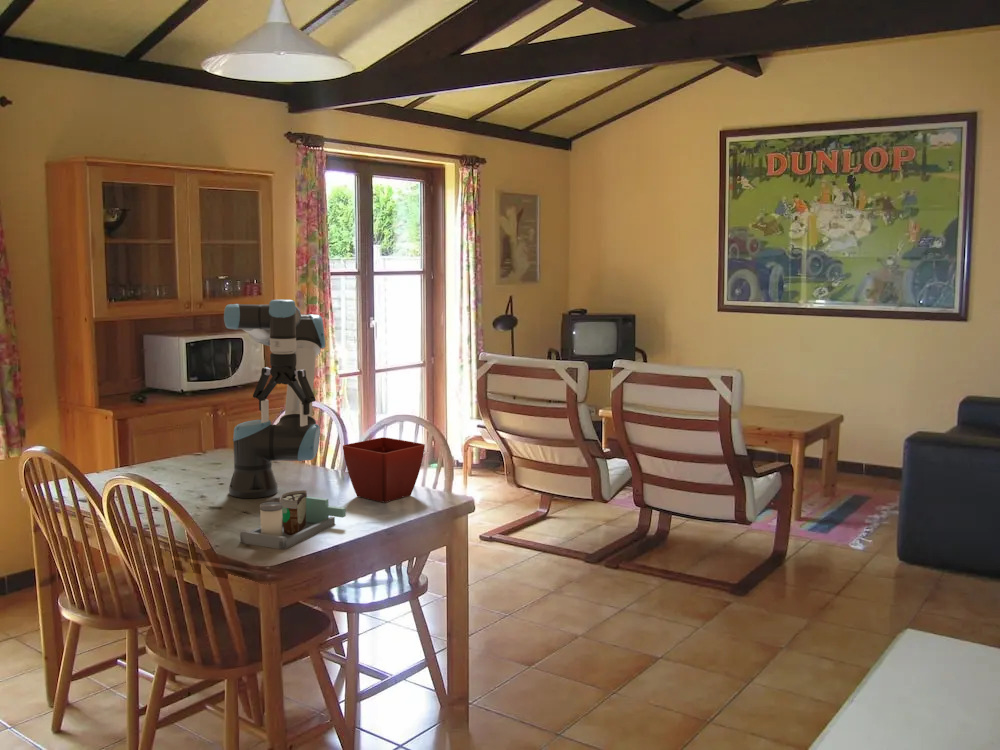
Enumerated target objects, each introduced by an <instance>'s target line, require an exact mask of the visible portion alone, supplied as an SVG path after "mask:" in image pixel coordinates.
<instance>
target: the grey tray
mask: <svg viewBox="0 0 1000 750" xmlns="http://www.w3.org/2000/svg"><path fill="white" fill-rule="evenodd" d="M335 519H336V518H335V516H329V518H327V519H325V520H323V521H321V522H319V523H311V522H306V527H305V528H304V529H303V530H302V531H300V532H298V533H295V534H293V535H288V534H286V533H284V526H283V516H282V535H283V536H277V535H270V534H263V533H261V526H259V527H257V528H254V529H251V530H250V531H248V530H241V531H240V532H239V533H240V536H239V537H240V542H239V544H240V543H241V544H246V545H250V546H251V545H253V546H257V547H264V548H265V547H266V548H272V549H278V550H286V549H288V548H291V547H292V546H294V545H297V544H298V543H301V542H302V541H304V540H307V539H309V538H311V537H313V536H315V535H317V534H319V533H321V532H322V531H326V530H327V529H329V528H331V527H333V526H336V524H335Z"/></svg>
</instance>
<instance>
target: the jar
mask: <svg viewBox="0 0 1000 750" xmlns="http://www.w3.org/2000/svg"><path fill="white" fill-rule="evenodd" d="M259 512H260V513H259V514H260V527H261V533H263V534H270V535H277V536H283V535H282V517H283V516H282V503H280V502H279V501H267V502H263V503H260V504H259Z"/></svg>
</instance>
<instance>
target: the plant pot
mask: <svg viewBox="0 0 1000 750" xmlns="http://www.w3.org/2000/svg"><path fill="white" fill-rule="evenodd" d="M425 449H426V444H424V443H419V442H415V441H409V440H403V439H397V438H391V437H383V436H382V437H379V438H373V439H372V438H371V439H366V440H363V441H358V442H357V441H356V442H353V443H346V444H344V445H342V450H343V456H344V461H345V462H344V463H345V465H346V468H347V469H346V470H347V473H348V476H349V479H350V482H351V484H352V487H353V491H354V492H355V494H356V497H358V498H362V499H363V498H364V499H368V500H371V501H376V502H380V503H388V502H392V501H395V500H399V499H402V498H406V497H410V496H411V495H412V493H413V491H414V488H415V486H416V483H417V479H418V478H419V477H418V476H419V473H420V470H421V467H422V463H423V459H424V454H425Z"/></svg>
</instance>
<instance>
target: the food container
mask: <svg viewBox="0 0 1000 750" xmlns="http://www.w3.org/2000/svg"><path fill="white" fill-rule="evenodd" d="M307 494H308V493H307V490H306V489H305V490H293V491H292V490H291V491H287V492H285V493H283V494H281V495H280V498H279V501H278V502H280V503H282V517H283V526H284V533H286V534H288V535H293V534H295V533H298V532H300V531H302V530H303V529H304V528H305V527H306V497H307V496H308V495H307Z"/></svg>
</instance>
